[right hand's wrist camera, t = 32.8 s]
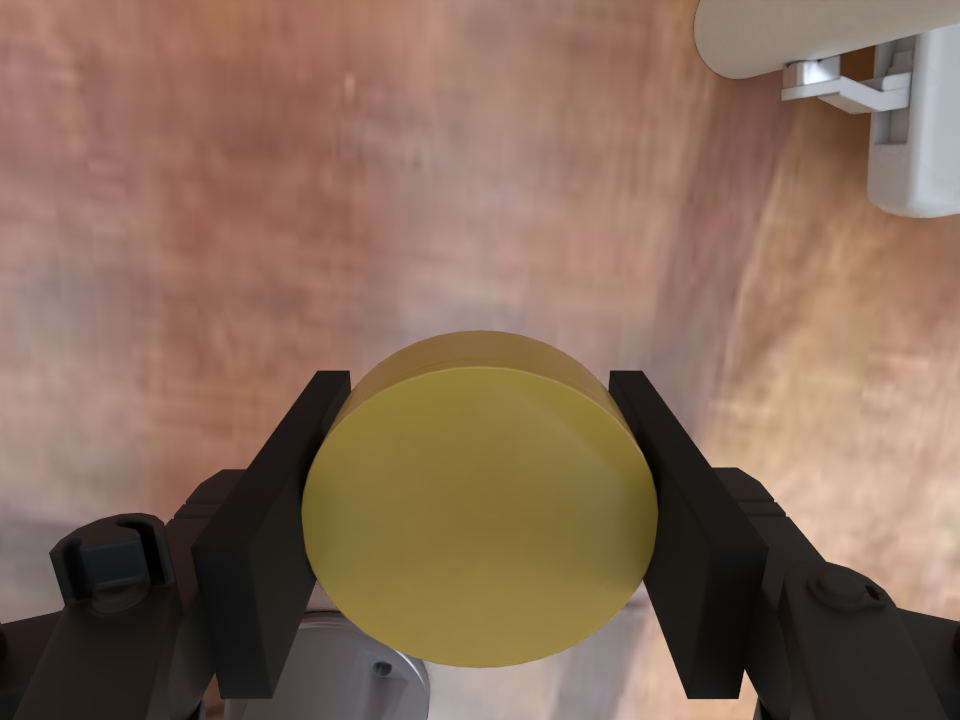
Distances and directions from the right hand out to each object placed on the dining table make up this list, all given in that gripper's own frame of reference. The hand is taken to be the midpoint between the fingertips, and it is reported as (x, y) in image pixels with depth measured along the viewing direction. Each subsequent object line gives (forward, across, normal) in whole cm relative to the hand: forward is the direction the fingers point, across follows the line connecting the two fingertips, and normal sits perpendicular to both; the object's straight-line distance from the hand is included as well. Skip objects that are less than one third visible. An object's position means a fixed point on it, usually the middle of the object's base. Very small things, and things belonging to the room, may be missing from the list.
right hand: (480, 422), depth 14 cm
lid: (-4, 0, 0) cm, 4 cm away
